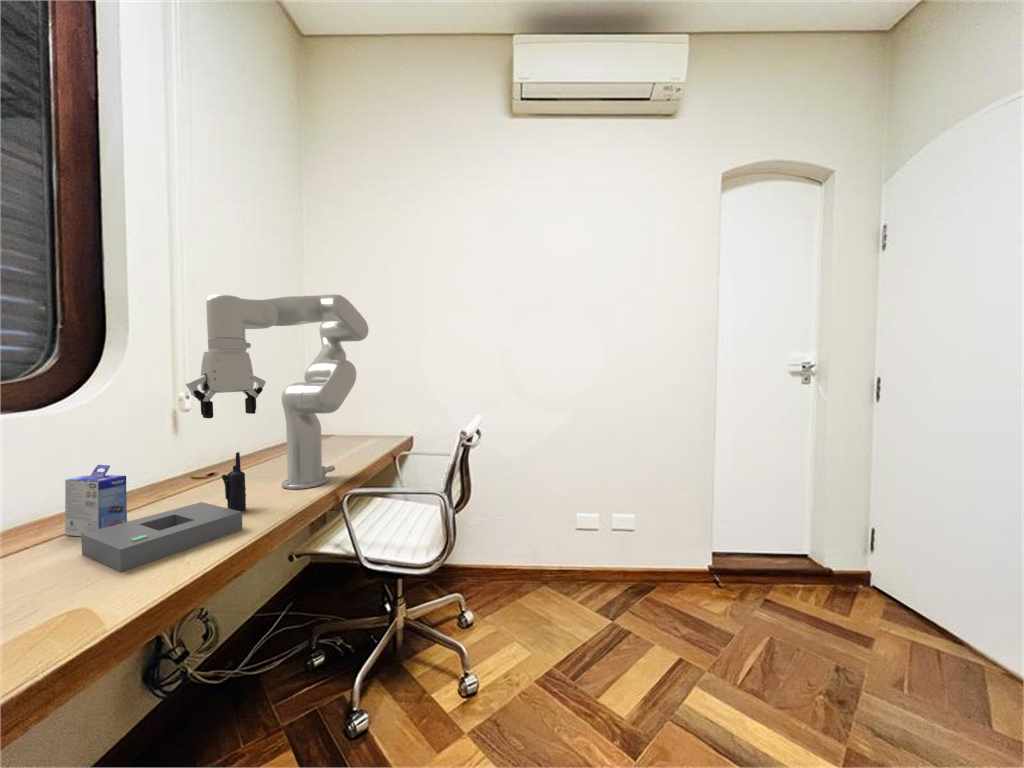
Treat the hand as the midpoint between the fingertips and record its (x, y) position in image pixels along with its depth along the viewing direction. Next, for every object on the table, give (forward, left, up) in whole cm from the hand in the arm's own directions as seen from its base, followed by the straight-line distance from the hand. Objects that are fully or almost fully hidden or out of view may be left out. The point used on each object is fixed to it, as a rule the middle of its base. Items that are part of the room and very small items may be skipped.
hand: (230, 415), depth 96 cm
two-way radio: (0, 0, -24) cm, 24 cm away
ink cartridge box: (+20, -14, -24) cm, 34 cm away
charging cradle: (+16, +6, -24) cm, 29 cm away
